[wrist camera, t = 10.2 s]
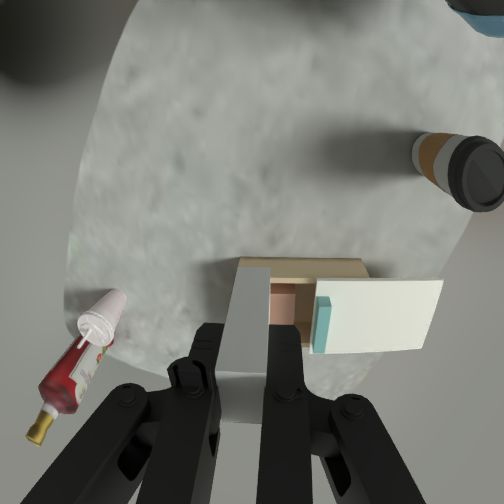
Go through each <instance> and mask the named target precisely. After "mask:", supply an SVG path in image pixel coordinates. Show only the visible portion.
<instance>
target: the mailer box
mask: <svg viewBox="0 0 504 504" xmlns="http://www.w3.org/2000/svg"><path fill="white" fill-rule="evenodd" d="M238 267H271V272H270V322H269V324H277V325H295V326H296V328H297V329H298V331H299V332H300V335H301V347H309V343H310V335H311V326H312V318H313V309H314V299H315V289H316V279H317V278H370V276H369V274H368V272H367V270H366V268H365V266H364V264H363V262H362V260H361V259H349V258H283V257H240V260H239V264H238ZM237 269H238V268H237Z"/></svg>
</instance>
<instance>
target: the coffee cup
mask: <svg viewBox="0 0 504 504" xmlns="http://www.w3.org/2000/svg"><path fill="white" fill-rule="evenodd" d="M412 162H413V164H414V166H415V168H416V169H417V171H418V172H420V173H421V174H422V175H424V176H425V177H426V178H427V179H429V180H430V181H431V182H432V183H434V184H435V185H436V186H438V187H439V188H440V189H442V190H443V191H444V192H446V193H448V194H449V195H451V196H452V197H453V198H454V199H455V201H456V202H457V203H458V204H460V205H461V206H462V207H464V208H466V209H469V210H471V211H473V212H489V211H492V210H494V209H496V208H497V207H499V206H500V205H501V204H502V202H503V201H504V152H503V151H502V150H501V148H500V147H499V146H498V145H497V144H496V143H494V142H493V141H491V140H489V139H487V138H485V137H481V136H471V137H470V136H463V135H458V134H448V133H425V134H423V135H421V136H420V137H419V138H417V139H416V141H415V143H414V144H413V148H412Z"/></svg>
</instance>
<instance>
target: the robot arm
mask: <svg viewBox="0 0 504 504" xmlns="http://www.w3.org/2000/svg"><path fill="white" fill-rule="evenodd" d="M445 1H446V2H447V3H448V6H449V7H450V8H451V9H452V10H453V11H455V12H456V13H458V14H459V15H460V16H461V17H462V18H463V19H464V20H465V21H466V22H467V23H468V24H469V25H470V26H471V27H472V28H473V29H474V30H476V31H477V32H480V33H482V34H484V35H486V36H489V37H496V38H504V0H445ZM270 272H271V267H238V269H237V273H236V278H235V282H234V286H233V291H232V295H231V300H230V304H229V309H228V313H227V318H226V322H225V324H220V323H204V324H203V325H202V326H201V327H200V328H199V329H198V330H197V331H196V334H195V337H194V341H193V343H192V346H191V349H190V352H189V356H188V357H183V358H180V359H177V360H175V361H174V362H173V363H171V364H170V366H169V367H168V369H167V371H168V375H169V379H170V382H171V386H172V387H170V388H168V389H164V390H160V391H152V392H146V391H145V389H144V388H143V387H141V386H140V385H138V384H133V383H127V384H122V385H119V386H117V387H116V388H115V389H113V390H112V391H111V392H110V393H109V395H108V396H107V397H106V398H105V399H104V401H103V402H102V403H101V404H100V406H99V407H98V408H97V409H96V410H95V412H94V413H93V414H92V415H91V417H90V418H89V419H88V420H87V421H86V423H85V424H84V425H83V426H82V428H81V429H80V430H79V431H78V432H77V433H76V435H75V436H74V437H73V438H72V440H71V441H70V442H69V443H68V445H67V446H66V447H65V448H64V449H63V451H62V452H61V453H60V454H59V456H58V457H57V458H56V459H55V461H54V462H53V463H52V464H51V466H50V467H49V468H48V469H47V470H46V472H45V473H44V474H43V475H42V477H41V478H40V479H39V481H38V482H37V483H36V484H35V485H34V487H33V488H32V489H31V491H30V492H29V493H28V494H27V496H26V497H25V498H24V499H23V501H22V502H21V503H20V504H128V502H129V500H130V499H131V497H132V496H133V494H134V492H135V491H136V489H137V488H138V486H139V485H140V483H141V481H142V480H143V481H142V484H141V488H140V491H139V494H138V497H137V501H136V504H209V502H210V495H211V490H212V484H213V477H214V471H215V465H216V459H217V452H218V446H219V440H220V427H219V425H220V419H221V418H222V422H233V423H252V424H262V428H261V429H262V430H261V443H260V457H259V458H260V459H259V471H258V485H257V497H256V504H313V498H312V497H313V496H312V469H311V454H313V455H317V456H319V457H320V460H321V463H322V465H323V468H324V471H325V473H326V476H327V479H328V481H329V484H330V487H331V490H332V492H333V495H334V498H335V500H336V503H337V504H426V503H425V501H424V499H423V497H422V495H421V493H420V491H419V489H418V487H417V485H416V484H415V482H414V480H413V478H412V476H411V474H410V472H409V470H408V469H407V467H406V465H405V463H404V461H403V459H402V457H401V456H400V454H399V452H398V450H397V448H396V446H395V444H394V443H393V441H392V439H391V437H390V435H389V434H388V432H387V430H386V428H385V426H384V425H383V423H382V421H381V419H380V417H379V416H378V414H377V412H376V410H375V408H374V406H373V405H372V403H371V402H370V401H369V400H368V399H367V398H364V397H363V396H361V395H357V394H345V395H342V396H340V397H338V398H337V399H336V400H335V401H333V400H329V399H325V398H321V397H318V396H316V395H314V394H313V393H311V392H310V391H309V390H308V389H307V387H306V385H305V382H304V373H303V359H302V347H301V335H300V332H299V331H298V329H297V328H296V326H295V325H277V324H269V322H270Z"/></svg>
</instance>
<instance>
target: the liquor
mask: <svg viewBox="0 0 504 504" xmlns="http://www.w3.org/2000/svg"><path fill="white" fill-rule="evenodd" d="M82 338H83V336H82V334H81V333H79V335H78V336H77V337H76V338H75V340H74V341H73V342H72V344H71V345H70V346H69V347H68V349H67V350H66V351H65V352H64V354H63V355H62V356H61V357H60V358H59V360H58V361H57V362H56V363H55V364H54V366H53V367H52V368H51V370H50V371H49V372H48V374H47V375H46V376H45V378H44V379H43V381H42V382H41V383H40V384H39V387H38V388H39V391H40V394H41V397H42V398H43V400H44V401H45V402H44V404H43V406H42V408H41V411H40V413H39V415H38V417H37V420H36V422H35V423H34V424H33V425H32V426H31V427H30V429H29V431H28V432H27V434H26V438H27V439H28V440H29V441H30V442H31V443H33V444H35V445H36V446H39V447H40V446H41V444H42V442H43V441H44V438H45V436H46V432H47V430H48V429H49V427H50V426H51V424H52V423H53V421H54V420H55V418H56V417H57V416H58V415H59V413H63V414H74V413H75V412H76V410H77V408H78V406H79V404H80V402H81V399H82V398H83V396H84V394H85V392H86V390H87V388H88V385H89V383H90V381H91V379H92V377H93V375H94V372H95V370H96V368H97V367H98V365H99V363H100V361H101V359H102V357H103V355H104V354H105V352H106V350H107V348H108V347H110V346H111V345H112V344H113V342H114V338H113V340H112V341H111V342H110V344H108V345H107V346H97V345H94V344H92V343H90V342H89V341H87V340H85V342H84V343H83V345H82V346H81V348H80V349H78V348H77V346H78V344H79V343H80V341H81V340H82Z"/></svg>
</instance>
